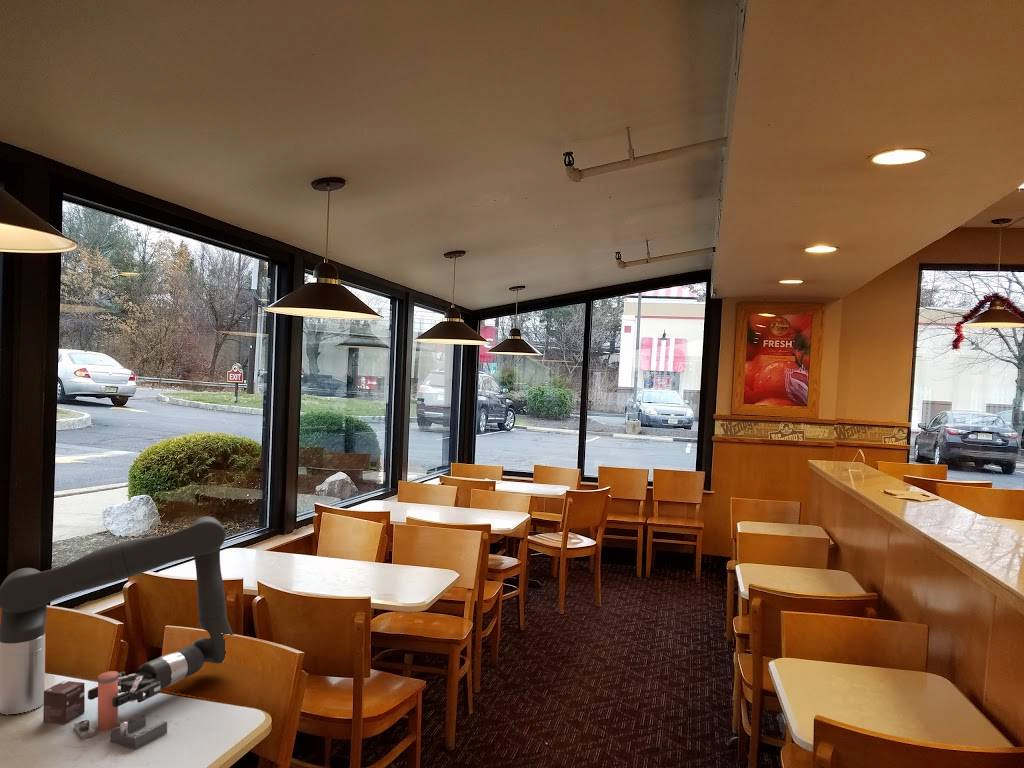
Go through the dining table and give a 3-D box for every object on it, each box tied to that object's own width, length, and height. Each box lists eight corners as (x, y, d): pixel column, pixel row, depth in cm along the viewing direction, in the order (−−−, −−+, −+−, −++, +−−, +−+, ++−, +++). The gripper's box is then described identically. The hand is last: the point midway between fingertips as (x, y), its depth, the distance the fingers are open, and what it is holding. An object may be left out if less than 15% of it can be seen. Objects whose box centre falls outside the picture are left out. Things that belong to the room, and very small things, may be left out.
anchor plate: (73, 728, 158) (73, 718, 158) (86, 724, 160) (86, 714, 160) (82, 739, 153) (82, 729, 153) (94, 735, 155) (95, 725, 155)
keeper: (108, 742, 152) (108, 719, 152) (142, 725, 159) (143, 703, 159) (133, 750, 149) (133, 727, 148) (167, 732, 156) (167, 711, 156)
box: (64, 725, 159) (64, 693, 159) (42, 722, 160) (42, 691, 160) (85, 712, 165) (85, 682, 165) (64, 710, 166) (64, 679, 166)
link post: (94, 726, 159) (95, 674, 159) (115, 720, 162) (115, 669, 162) (100, 733, 156) (100, 680, 156) (120, 726, 159) (121, 674, 159)
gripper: (143, 652, 175) (80, 677, 160) (183, 662, 169) (122, 689, 154) (143, 681, 175) (80, 709, 160) (182, 692, 169) (121, 722, 154)
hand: (100, 699), depth 157 cm, fingers open, 8 cm apart
